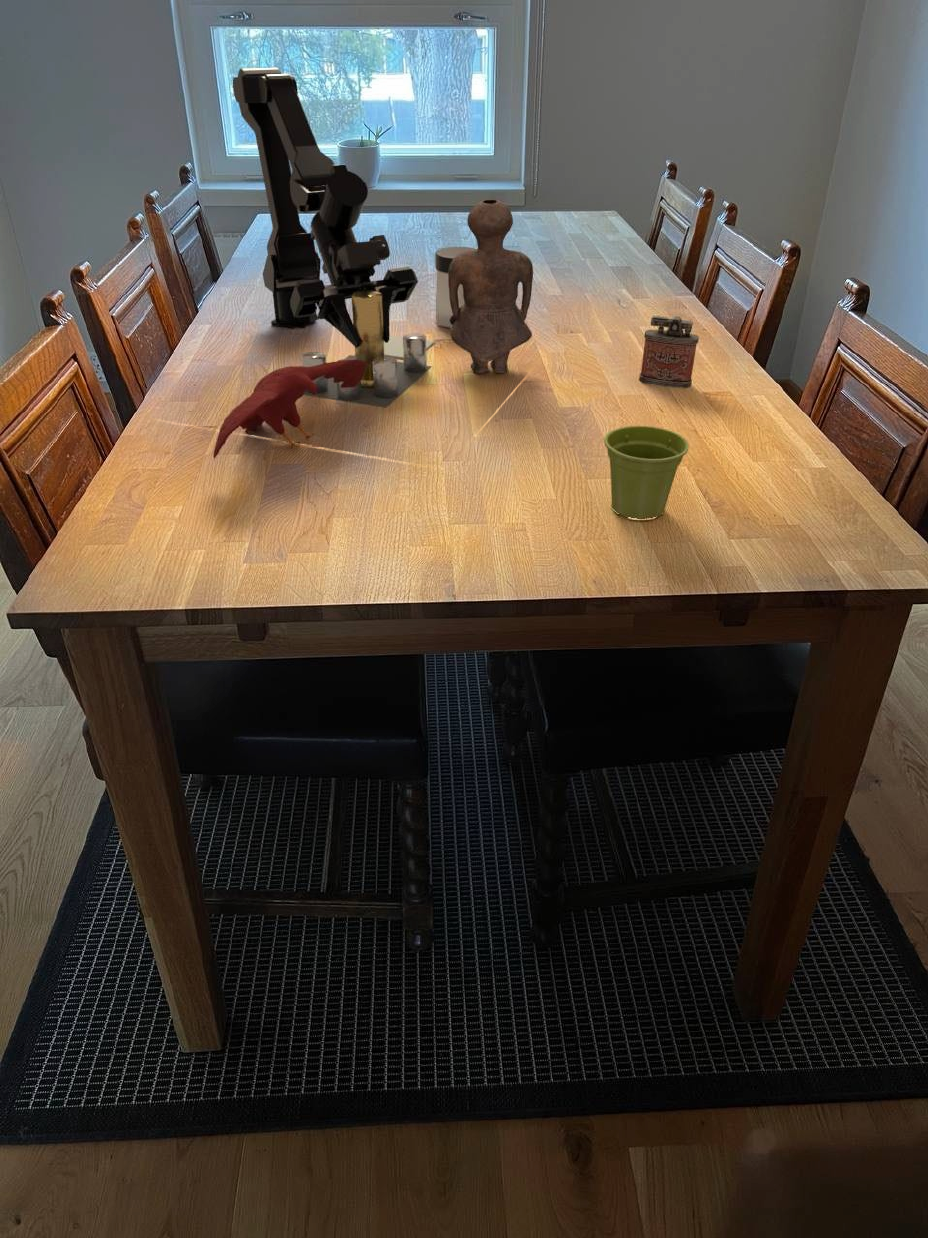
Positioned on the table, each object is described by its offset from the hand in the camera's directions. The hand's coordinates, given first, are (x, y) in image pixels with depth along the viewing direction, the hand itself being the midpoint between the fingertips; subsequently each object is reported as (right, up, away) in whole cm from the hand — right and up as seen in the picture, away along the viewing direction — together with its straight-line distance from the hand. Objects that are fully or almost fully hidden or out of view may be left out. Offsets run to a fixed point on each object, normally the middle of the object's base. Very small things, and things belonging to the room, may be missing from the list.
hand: (372, 343), depth 135 cm
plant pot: (+34, -28, -27) cm, 51 cm away
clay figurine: (+17, -1, +10) cm, 20 cm away
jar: (+12, +13, +30) cm, 35 cm away
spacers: (-1, -4, +5) cm, 7 cm away
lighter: (+45, -4, +6) cm, 45 cm away
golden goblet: (-1, -4, +5) cm, 6 cm away
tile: (+3, +4, +17) cm, 18 cm away
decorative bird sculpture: (-10, -17, -12) cm, 23 cm away
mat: (-1, -4, +6) cm, 7 cm away
